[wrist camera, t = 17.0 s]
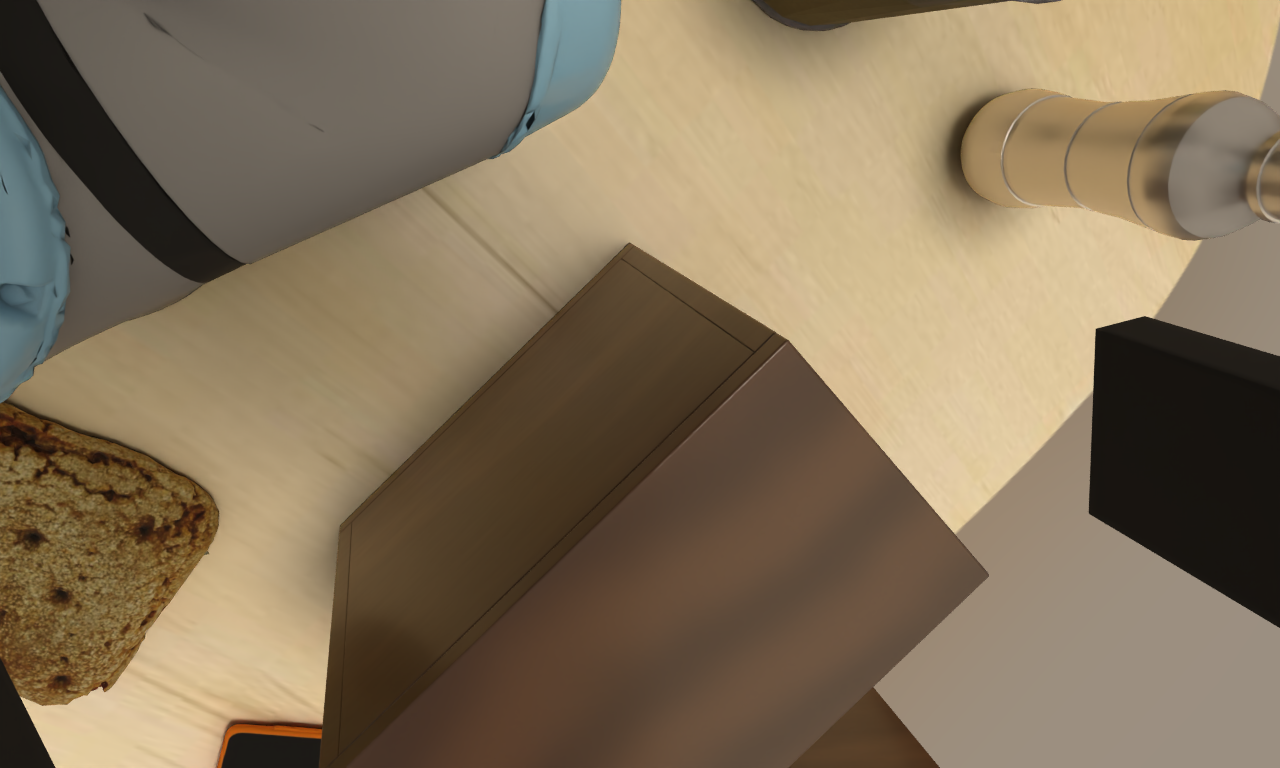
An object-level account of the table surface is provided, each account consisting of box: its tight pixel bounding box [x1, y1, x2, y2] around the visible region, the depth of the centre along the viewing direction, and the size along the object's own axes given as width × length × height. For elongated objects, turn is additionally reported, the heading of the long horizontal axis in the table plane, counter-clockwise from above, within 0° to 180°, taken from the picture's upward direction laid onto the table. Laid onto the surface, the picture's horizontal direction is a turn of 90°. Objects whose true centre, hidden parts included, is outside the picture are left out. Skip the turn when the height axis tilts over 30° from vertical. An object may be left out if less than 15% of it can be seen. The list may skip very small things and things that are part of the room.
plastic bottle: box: [961, 88, 1280, 240], centre depth 42 cm, size 6×7×20 cm
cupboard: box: [319, 243, 989, 768], centre depth 41 cm, size 14×22×20 cm, turn 132°
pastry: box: [0, 402, 219, 706], centre depth 42 cm, size 17×17×3 cm
